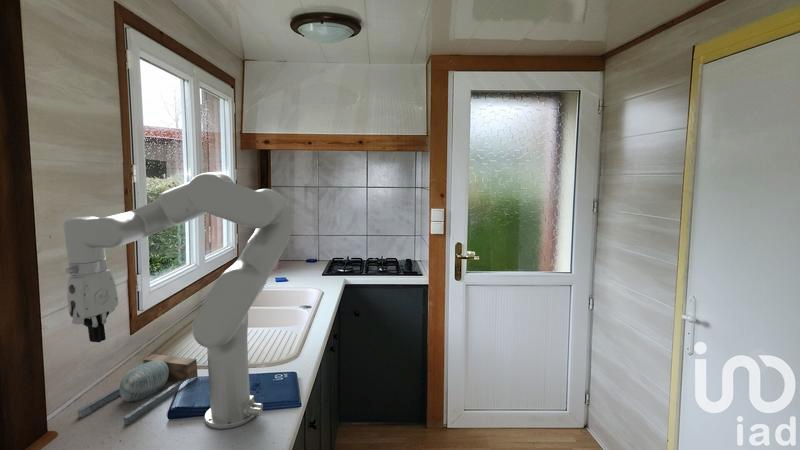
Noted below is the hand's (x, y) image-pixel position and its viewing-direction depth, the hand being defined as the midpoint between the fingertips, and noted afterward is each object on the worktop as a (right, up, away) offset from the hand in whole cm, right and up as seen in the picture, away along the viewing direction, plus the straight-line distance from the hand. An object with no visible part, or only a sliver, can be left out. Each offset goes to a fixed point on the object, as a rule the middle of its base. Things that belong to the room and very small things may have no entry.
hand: (97, 340), depth 113 cm
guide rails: (+2, -20, +13) cm, 24 cm away
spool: (+3, -19, +17) cm, 26 cm away
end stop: (+5, -18, +26) cm, 32 cm away
